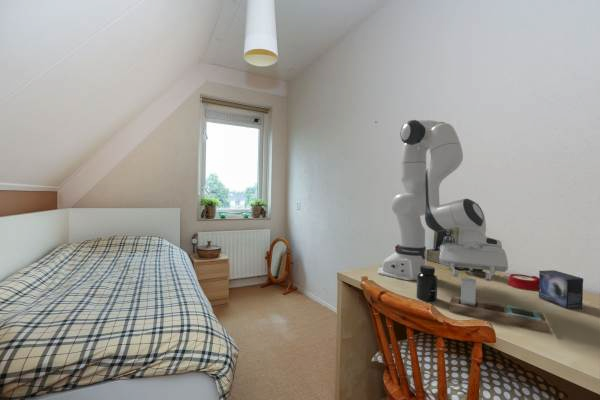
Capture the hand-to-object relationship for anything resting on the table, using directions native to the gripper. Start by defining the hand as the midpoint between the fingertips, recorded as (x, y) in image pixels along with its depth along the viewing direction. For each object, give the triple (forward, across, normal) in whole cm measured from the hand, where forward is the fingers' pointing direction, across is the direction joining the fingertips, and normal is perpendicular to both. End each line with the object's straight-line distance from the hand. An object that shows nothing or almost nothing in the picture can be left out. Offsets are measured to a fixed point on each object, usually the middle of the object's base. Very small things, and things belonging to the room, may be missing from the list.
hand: (471, 277), depth 93 cm
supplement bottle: (+7, -14, +8) cm, 17 cm away
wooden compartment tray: (+10, +6, +5) cm, 13 cm away
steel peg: (+9, -1, +4) cm, 10 cm away
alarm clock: (-21, +19, +37) cm, 47 cm away
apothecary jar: (-28, +1, +43) cm, 52 cm away
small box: (-9, +26, +25) cm, 37 cm away
